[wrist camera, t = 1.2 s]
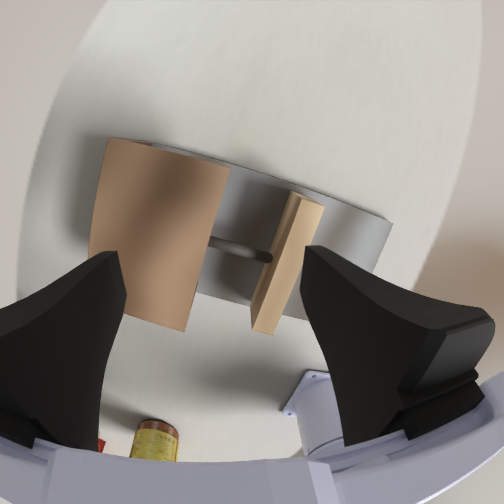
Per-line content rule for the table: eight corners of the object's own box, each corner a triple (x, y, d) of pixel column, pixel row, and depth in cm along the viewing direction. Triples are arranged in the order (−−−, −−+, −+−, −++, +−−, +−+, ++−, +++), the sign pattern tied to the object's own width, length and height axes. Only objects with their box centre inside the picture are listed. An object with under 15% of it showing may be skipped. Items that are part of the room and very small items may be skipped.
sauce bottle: (131, 416, 31) (97, 539, 13) (172, 417, 31) (150, 553, 12) (149, 441, 33) (127, 551, 15) (187, 442, 33) (175, 561, 15)
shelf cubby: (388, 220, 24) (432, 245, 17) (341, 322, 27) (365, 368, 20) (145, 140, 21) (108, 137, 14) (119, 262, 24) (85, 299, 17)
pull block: (309, 197, 21) (324, 206, 18) (267, 307, 24) (272, 335, 21) (155, 150, 20) (137, 150, 16) (130, 268, 23) (112, 289, 19)
